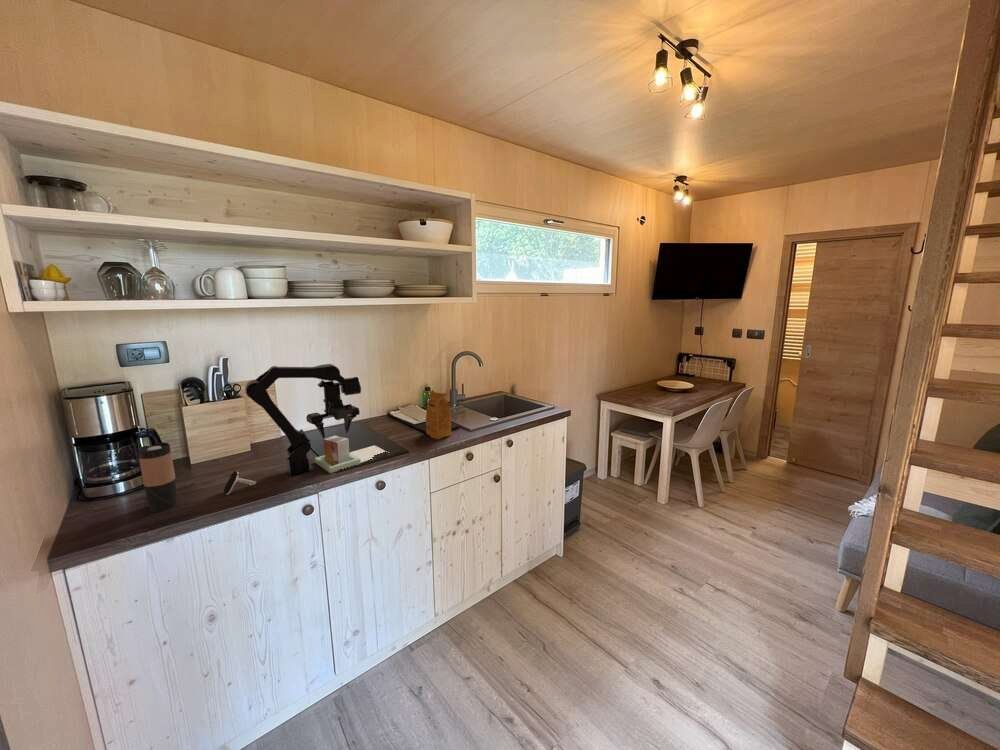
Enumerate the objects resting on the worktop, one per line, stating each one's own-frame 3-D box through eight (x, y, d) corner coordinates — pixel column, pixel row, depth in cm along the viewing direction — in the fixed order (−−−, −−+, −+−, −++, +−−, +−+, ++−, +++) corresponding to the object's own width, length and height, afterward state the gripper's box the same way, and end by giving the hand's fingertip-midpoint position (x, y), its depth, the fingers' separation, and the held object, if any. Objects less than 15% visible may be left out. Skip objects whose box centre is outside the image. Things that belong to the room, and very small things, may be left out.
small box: (325, 464, 158) (322, 439, 156) (336, 459, 163) (334, 435, 161) (339, 468, 155) (337, 442, 153) (350, 463, 160) (348, 438, 158)
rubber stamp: (226, 496, 132) (238, 473, 134) (222, 491, 135) (234, 469, 137) (249, 501, 138) (261, 478, 139) (245, 496, 141) (256, 474, 143)
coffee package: (441, 430, 200) (440, 387, 195) (454, 436, 190) (453, 391, 186) (423, 434, 194) (421, 390, 190) (435, 441, 184) (434, 395, 180)
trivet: (361, 463, 159) (360, 462, 159) (346, 454, 168) (346, 453, 168) (390, 454, 168) (389, 453, 168) (374, 446, 177) (374, 445, 177)
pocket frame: (330, 473, 150) (329, 468, 150) (315, 463, 160) (314, 457, 159) (360, 464, 159) (360, 459, 158) (344, 454, 168) (344, 449, 168)
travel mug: (168, 512, 123) (157, 451, 119) (141, 513, 123) (130, 451, 119) (185, 499, 131) (175, 442, 127) (160, 500, 130) (150, 442, 126)
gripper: (316, 405, 142) (319, 446, 145) (365, 396, 155) (367, 434, 158) (304, 399, 149) (307, 439, 152) (351, 391, 163) (354, 428, 166)
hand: (335, 435), depth 157 cm, fingers open, 9 cm apart
